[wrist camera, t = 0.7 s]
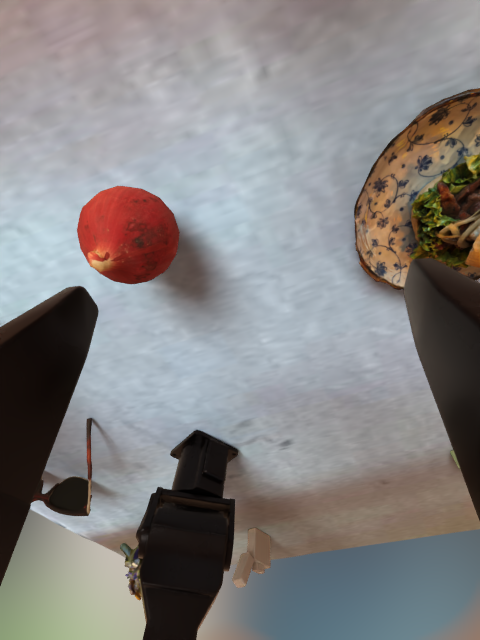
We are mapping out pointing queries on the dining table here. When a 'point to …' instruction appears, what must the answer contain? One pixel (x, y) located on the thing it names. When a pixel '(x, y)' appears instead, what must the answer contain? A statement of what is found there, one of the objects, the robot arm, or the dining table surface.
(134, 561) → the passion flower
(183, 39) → the dining table surface
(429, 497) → the dining table surface
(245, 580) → the lighter
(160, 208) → the onion
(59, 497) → the sunglasses
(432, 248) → the wood slice pumpkin decoration
